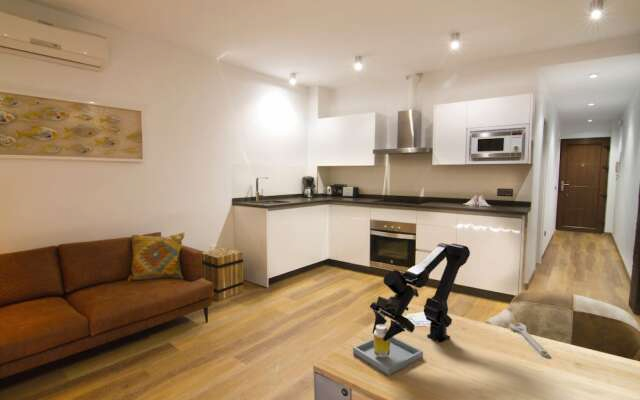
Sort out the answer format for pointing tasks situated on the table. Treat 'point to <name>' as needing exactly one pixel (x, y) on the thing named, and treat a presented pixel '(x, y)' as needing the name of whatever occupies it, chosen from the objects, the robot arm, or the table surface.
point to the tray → (395, 361)
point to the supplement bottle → (381, 341)
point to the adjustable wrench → (529, 338)
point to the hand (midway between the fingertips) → (378, 337)
